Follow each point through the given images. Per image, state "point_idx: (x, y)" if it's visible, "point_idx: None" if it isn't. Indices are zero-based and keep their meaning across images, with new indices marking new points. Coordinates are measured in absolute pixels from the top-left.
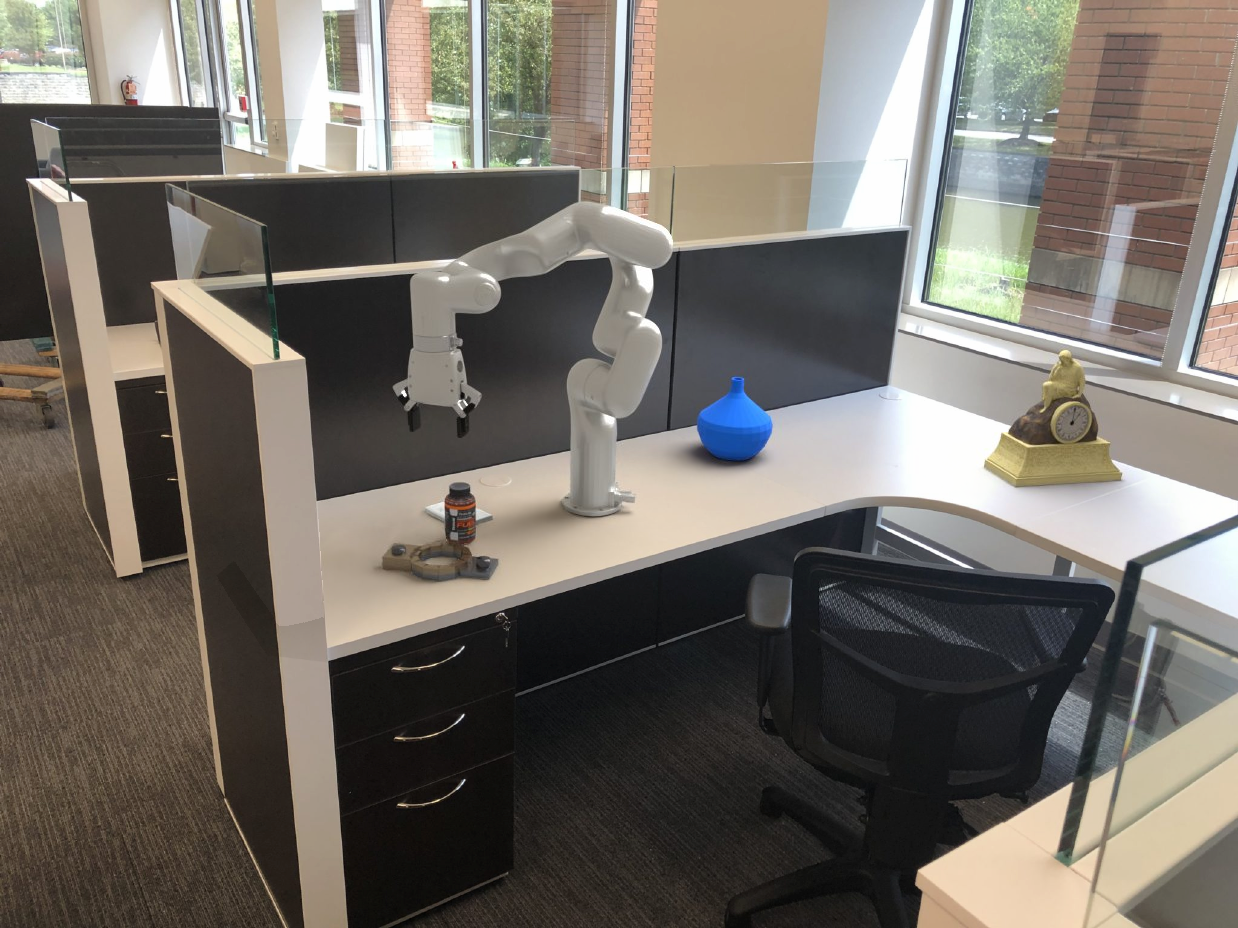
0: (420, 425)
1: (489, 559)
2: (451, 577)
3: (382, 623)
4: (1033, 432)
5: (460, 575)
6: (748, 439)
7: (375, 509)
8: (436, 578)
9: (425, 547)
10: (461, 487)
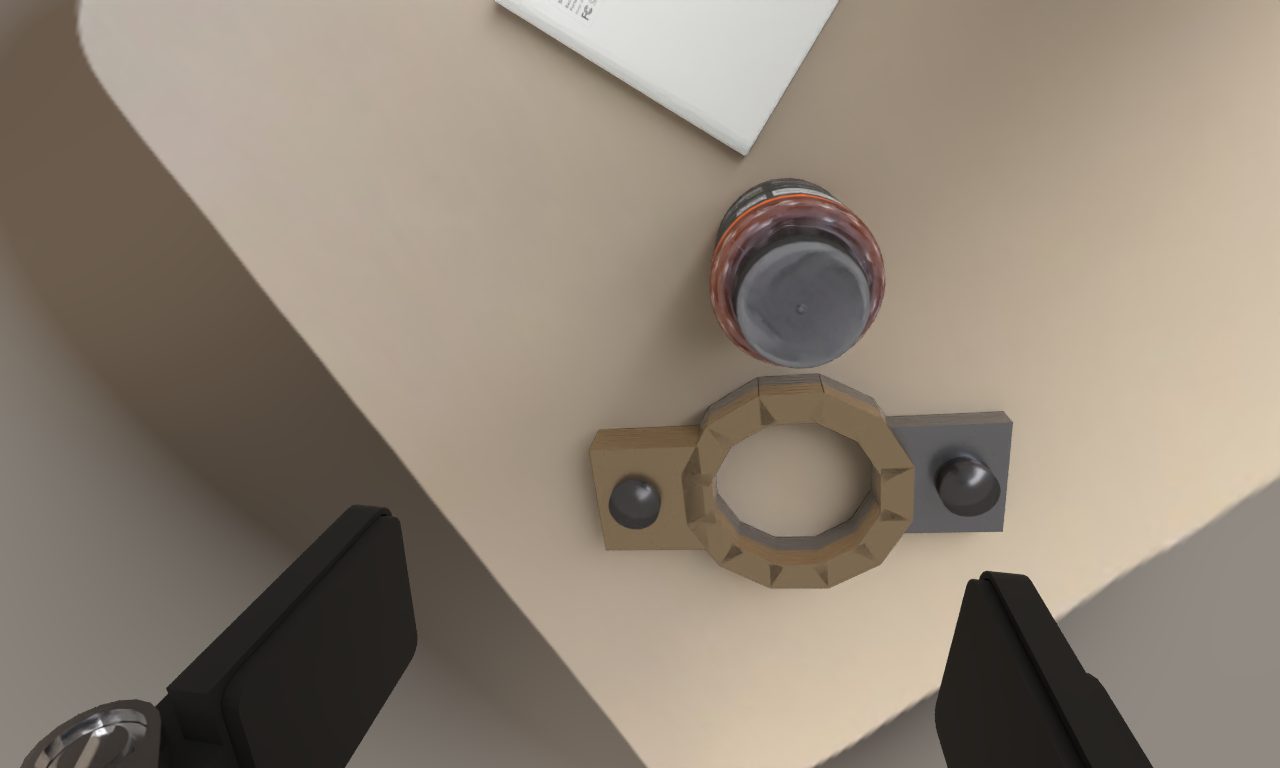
0: (387, 527)
1: (998, 492)
2: None
3: (760, 761)
4: None
5: None
6: None
7: (298, 69)
8: None
9: (715, 457)
10: (824, 333)
